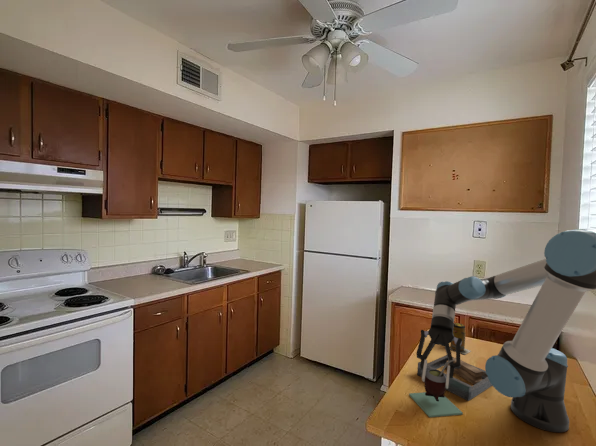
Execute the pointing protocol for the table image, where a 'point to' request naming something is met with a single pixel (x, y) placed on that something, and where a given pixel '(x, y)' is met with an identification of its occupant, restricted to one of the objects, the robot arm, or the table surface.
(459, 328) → the condiment
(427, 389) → the mate gourd
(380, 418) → the table surface
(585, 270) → the robot arm
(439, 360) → the tray
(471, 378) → the offcut stack
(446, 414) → the green mat
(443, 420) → the table surface
